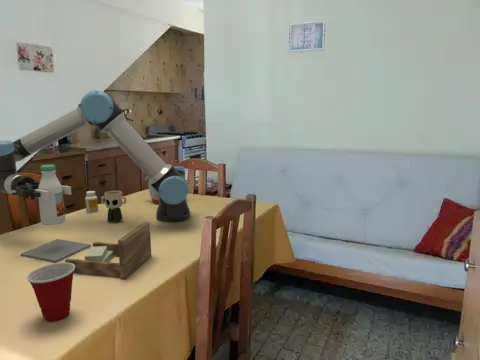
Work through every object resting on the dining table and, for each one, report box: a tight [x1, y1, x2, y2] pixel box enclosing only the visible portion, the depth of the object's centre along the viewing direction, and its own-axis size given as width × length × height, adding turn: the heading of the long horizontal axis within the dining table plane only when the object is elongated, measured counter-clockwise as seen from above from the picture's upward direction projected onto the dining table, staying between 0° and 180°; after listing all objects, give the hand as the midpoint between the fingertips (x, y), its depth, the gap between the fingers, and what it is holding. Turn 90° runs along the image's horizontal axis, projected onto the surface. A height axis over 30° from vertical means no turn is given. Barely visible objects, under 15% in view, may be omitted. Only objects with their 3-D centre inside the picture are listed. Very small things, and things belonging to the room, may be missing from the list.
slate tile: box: [19, 238, 92, 264], centre depth 142 cm, size 16×16×1 cm
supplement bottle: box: [84, 190, 99, 214], centre depth 191 cm, size 5×5×10 cm
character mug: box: [100, 190, 127, 223], centre depth 175 cm, size 11×7×13 cm, turn 89°
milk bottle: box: [38, 164, 66, 226], centre depth 138 cm, size 8×8×20 cm
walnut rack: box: [64, 221, 152, 280], centre depth 129 cm, size 20×18×12 cm
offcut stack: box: [84, 246, 115, 262], centre depth 132 cm, size 7×10×4 cm
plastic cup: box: [25, 261, 75, 322], centre depth 98 cm, size 11×11×12 cm
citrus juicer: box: [144, 175, 159, 205], centre depth 207 cm, size 16×17×20 cm
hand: (59, 193), depth 135 cm, fingers closed on milk bottle, 8 cm apart
